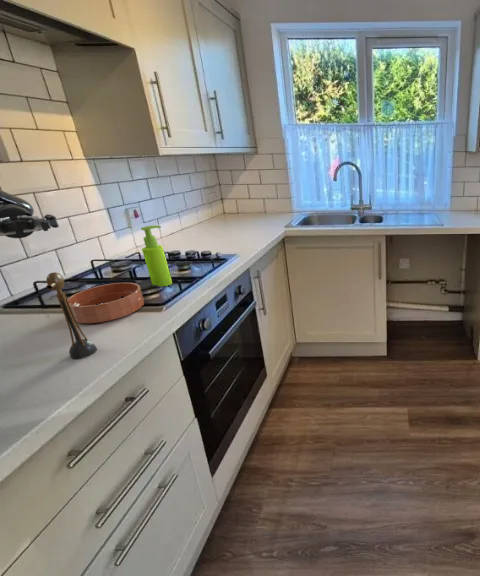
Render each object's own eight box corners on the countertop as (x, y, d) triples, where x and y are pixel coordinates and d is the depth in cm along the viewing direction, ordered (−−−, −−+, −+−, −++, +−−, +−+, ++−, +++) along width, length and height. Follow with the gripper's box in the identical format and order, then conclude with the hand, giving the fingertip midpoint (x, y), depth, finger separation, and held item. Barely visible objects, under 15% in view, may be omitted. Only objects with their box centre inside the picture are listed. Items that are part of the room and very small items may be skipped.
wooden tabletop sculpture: (91, 358, 82) (59, 276, 74) (66, 363, 80) (30, 279, 73) (99, 345, 87) (69, 267, 79) (75, 350, 85) (43, 270, 78)
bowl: (79, 331, 94) (72, 312, 92) (67, 312, 105) (60, 295, 102) (153, 309, 105) (147, 292, 103) (135, 294, 116) (130, 278, 114)
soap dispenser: (178, 282, 125) (163, 225, 117) (156, 289, 120) (139, 229, 112) (171, 279, 128) (156, 223, 120) (150, 284, 123) (133, 227, 116)
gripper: (-35, 210, 84) (-35, 218, 74) (45, 202, 94) (54, 208, 84) (-21, 241, 87) (-19, 253, 77) (55, 230, 97) (66, 239, 87)
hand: (19, 229), depth 80 cm, fingers open, 8 cm apart
